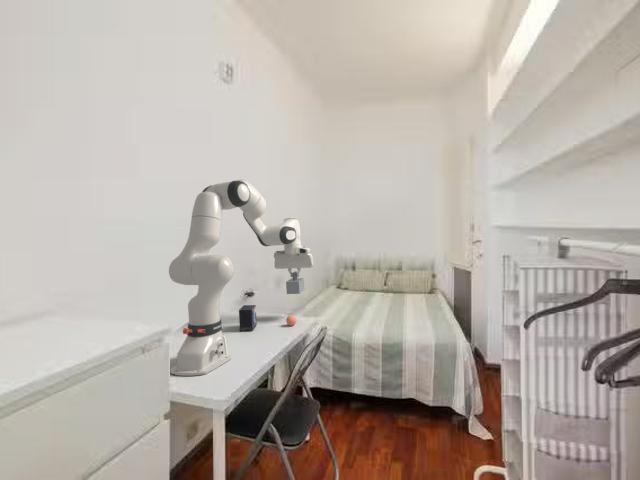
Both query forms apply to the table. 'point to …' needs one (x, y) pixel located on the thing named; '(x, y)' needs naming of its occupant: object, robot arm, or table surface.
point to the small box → (247, 318)
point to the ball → (291, 320)
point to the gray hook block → (295, 284)
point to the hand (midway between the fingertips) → (294, 276)
